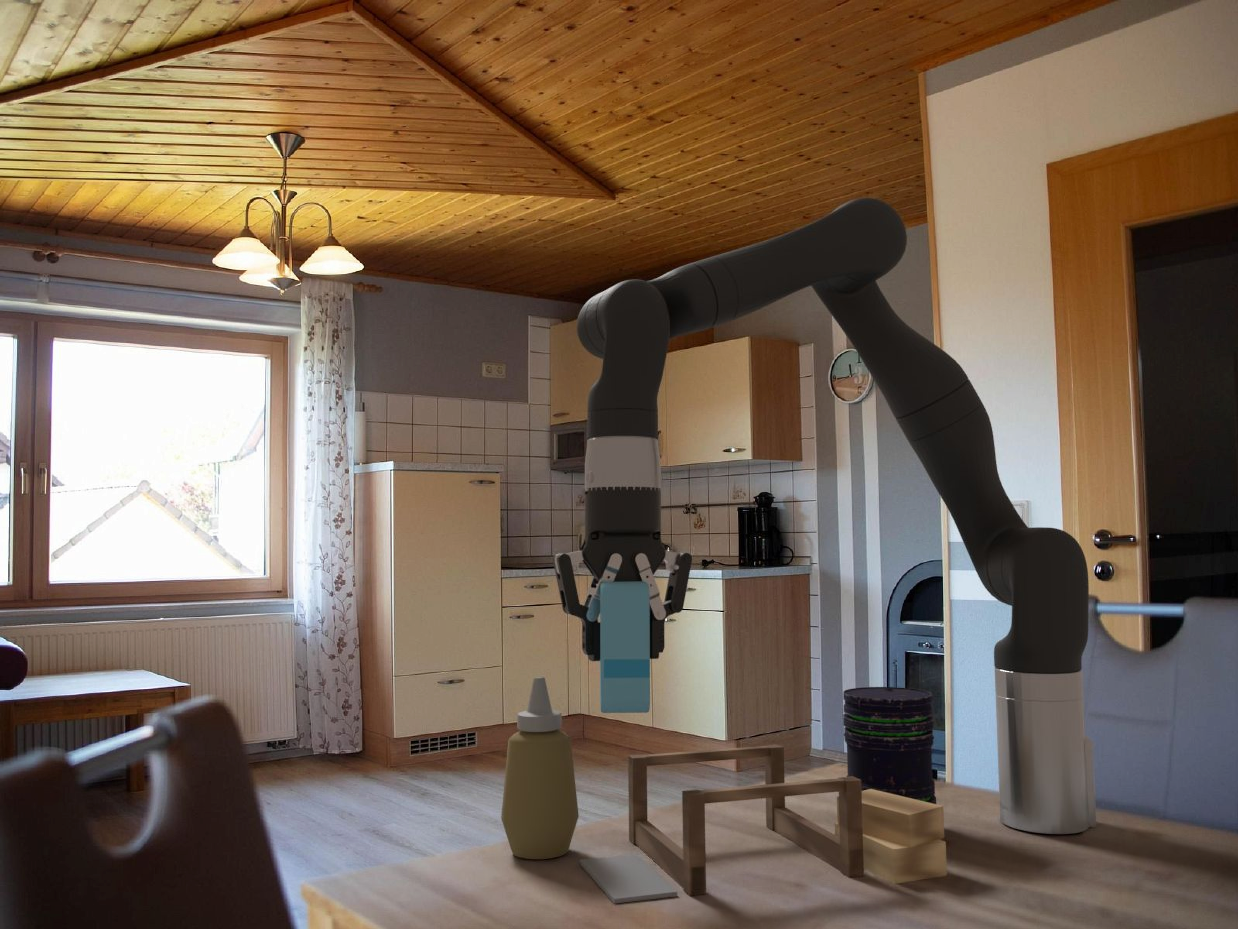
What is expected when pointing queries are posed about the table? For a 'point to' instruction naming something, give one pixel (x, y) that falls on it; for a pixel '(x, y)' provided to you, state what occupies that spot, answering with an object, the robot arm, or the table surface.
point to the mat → (627, 878)
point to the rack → (691, 859)
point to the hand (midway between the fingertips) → (623, 658)
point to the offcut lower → (903, 859)
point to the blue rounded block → (624, 647)
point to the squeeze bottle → (539, 782)
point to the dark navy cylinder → (890, 740)
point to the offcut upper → (900, 818)
